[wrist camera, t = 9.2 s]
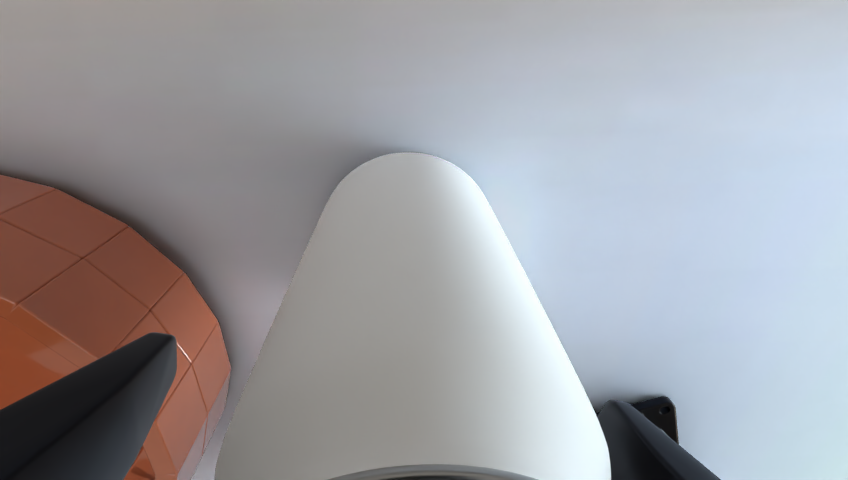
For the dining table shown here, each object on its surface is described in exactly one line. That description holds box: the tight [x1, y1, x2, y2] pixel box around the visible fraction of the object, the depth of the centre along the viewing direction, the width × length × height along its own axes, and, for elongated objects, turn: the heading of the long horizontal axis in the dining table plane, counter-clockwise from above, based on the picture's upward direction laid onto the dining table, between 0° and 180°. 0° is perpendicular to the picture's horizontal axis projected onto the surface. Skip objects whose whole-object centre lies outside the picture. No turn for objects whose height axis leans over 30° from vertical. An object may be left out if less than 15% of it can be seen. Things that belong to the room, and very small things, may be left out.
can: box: [215, 152, 611, 480], centre depth 11 cm, size 6×6×12 cm
